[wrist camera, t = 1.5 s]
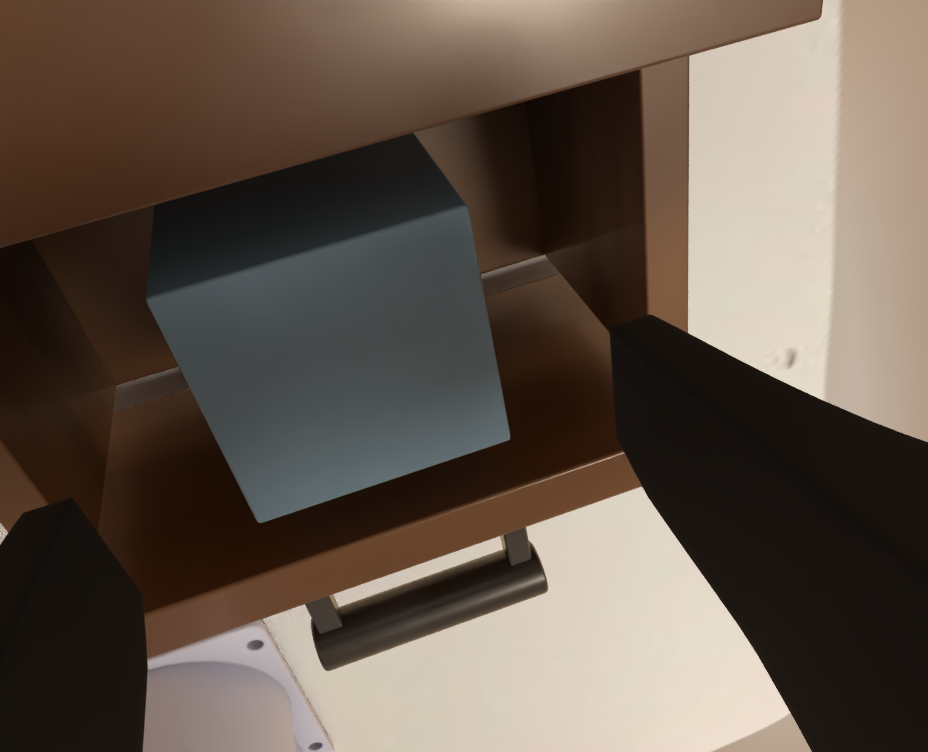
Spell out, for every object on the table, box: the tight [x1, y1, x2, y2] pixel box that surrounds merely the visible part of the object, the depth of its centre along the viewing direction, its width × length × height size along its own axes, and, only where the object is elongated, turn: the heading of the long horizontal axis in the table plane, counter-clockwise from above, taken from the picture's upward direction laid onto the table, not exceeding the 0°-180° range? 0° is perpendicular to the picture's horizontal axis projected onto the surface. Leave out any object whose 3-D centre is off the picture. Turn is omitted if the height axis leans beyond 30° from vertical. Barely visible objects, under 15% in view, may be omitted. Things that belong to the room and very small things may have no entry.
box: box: [146, 133, 510, 523], centre depth 14 cm, size 5×5×6 cm
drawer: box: [0, 56, 689, 671], centre depth 16 cm, size 18×13×7 cm
